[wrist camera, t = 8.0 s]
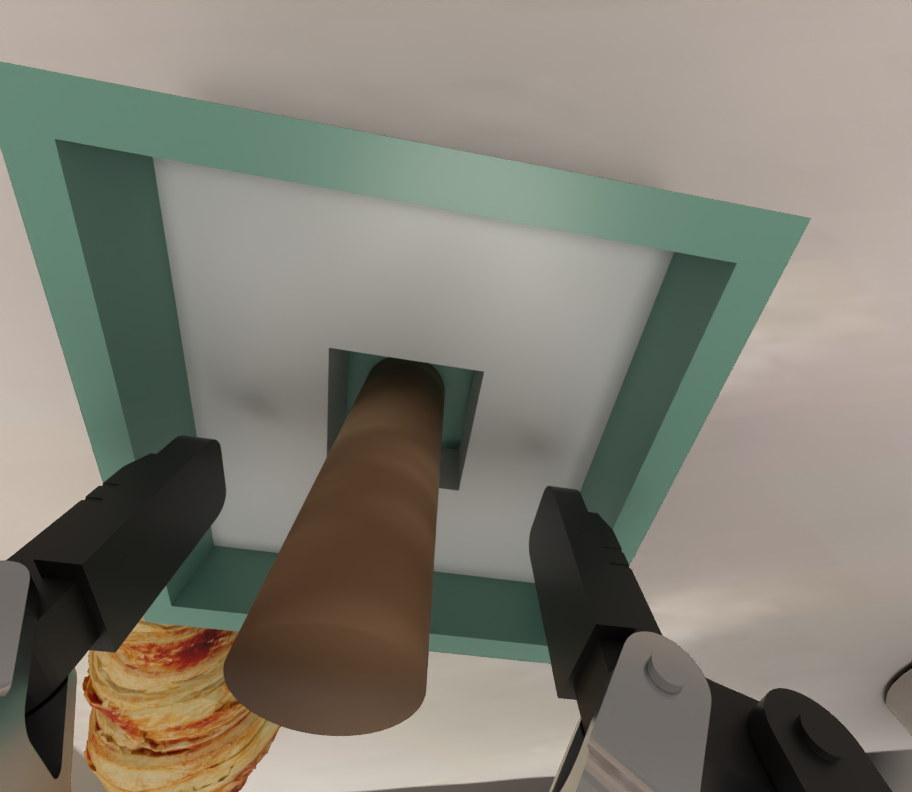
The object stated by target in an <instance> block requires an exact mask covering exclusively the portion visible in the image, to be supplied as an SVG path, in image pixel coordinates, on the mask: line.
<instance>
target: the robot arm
mask: <svg viewBox="0 0 912 792" xmlns="http://www.w3.org/2000/svg"><path fill="white" fill-rule="evenodd" d="M225 498H226V483H225V476H224V468H223V460H222V452H221V446H220V443H219V442H218V441H217V440H215V439H208V438H200V437H193V436H186V435H181V436H178V437H176V438H175V439H174V440H172V441H171V442H170V443H169V444H168V445H167V446H165V447H164V448H163V449H162V450H161V451H159V452H158V453H157V454H153V453H150V454H148V455H146V456H144V457H142V458H140V459H138V460H135V461H133V462H131V463H129V464H127V465H125V466H123V467H122V468H121V469H119V470H118V471H117V472H116V473H115V474H113V475H112V476H111V477H110V478H108V479H107V480H106V481H105V482H103V486H98V487H97V488H96V489H95V490H93V491H92V492H91V493H90V494H88V495H87V496H86V499H85V500H81V501H80V502H78V503H77V504H76V505H75V506H73V507H72V508H71V509H70V510H68V511H67V512H66V513H65V514H63V515H62V516H61V517H60V518H59V519H57V520H56V521H55V522H54V523H52V524H51V525H50V526H49V527H47V528H46V529H45V530H44V531H42V532H41V533H40V534H39V535H37V536H36V537H35V538H34V539H32V540H31V541H30V542H29V543H27V544H26V545H25V546H24V547H22V548H21V549H20V550H19V551H17V552H16V553H15V554H14V555H12V556H11V557H10V558H9V559H7V560H6V561H0V792H71V771H72V754H73V737H74V719H75V702H76V684H77V673H76V670H75V666H76V665H77V664H78V663H79V661H80V660H81V659H82V658H83V656H84V655H85V654H86V653H87V651H88V650H93V651H103V652H113V653H116V651H117V650H118V649H119V647H120V646H121V645H122V643H123V642H124V641H125V639H126V638H127V637H128V635H129V634H130V633H131V631H132V630H133V629H134V628H135V626H136V625H137V624H138V622H139V621H140V620H141V618H142V617H143V616H144V614H145V613H146V612H147V610H148V609H149V608H150V606H151V605H152V604H153V602H154V601H155V600H156V598H157V597H158V596H159V594H160V593H161V592H162V590H163V589H164V588H165V586H166V585H167V584H168V582H169V581H170V580H171V578H172V577H173V576H174V574H175V573H176V572H177V570H178V569H179V568H180V566H181V565H182V564H183V562H184V561H185V560H186V558H187V557H188V556H189V554H190V553H191V552H192V550H193V549H194V548H195V546H196V545H197V544H198V542H199V541H200V540H201V538H202V537H203V536H204V534H205V533H206V532H207V530H208V529H209V528H210V526H211V525H212V524H213V523H214V521H215V520H216V519H217V517H218V516H219V514H220V512H221V510H222V508H223V506H224V502H225ZM529 555H530V560H531V565H532V570H533V575H534V580H535V585H536V591H537V596H538V601H539V606H540V611H541V616H542V621H543V626H544V631H545V636H546V641H547V646H548V651H549V656H550V661H551V666H552V671H553V676H554V681H555V686H556V691H557V696H558V698H564V699H574V700H577V703H578V707H579V711H580V715H581V718H580V719H579V721H578V723H577V725H576V728H575V730H574V732H573V735H572V737H571V740H570V742H569V745H568V747H567V750H566V752H565V754H564V757H563V759H562V762H561V764H560V767H559V769H558V772H557V774H556V776H555V779H554V781H553V784H552V786H551V789H550V791H549V792H892V791H891V789H890V788H889V786H888V785H887V783H886V782H885V781H884V779H883V778H882V776H881V775H880V773H879V772H878V770H877V769H876V768H875V766H874V765H873V763H872V762H871V760H870V759H869V757H868V756H867V755H866V753H865V752H864V750H863V749H862V747H861V746H860V745H859V743H858V742H857V741H856V739H855V738H854V737H853V735H852V734H851V733H850V732H849V731H848V730H847V729H846V727H845V726H844V725H843V724H842V723H841V722H840V721H839V720H838V719H837V718H835V717H834V716H833V715H832V714H831V713H830V712H829V711H827V710H826V709H825V708H823V707H822V706H821V705H819V704H818V703H816V702H815V701H813V700H812V699H810V698H808V697H806V696H805V695H803V694H801V693H798V692H796V691H793V690H789V689H783V688H778V689H773V690H771V691H769V692H768V693H767V695H766V696H765V697H764V698H763V699H762V700H761V701H757V700H755V699H753V698H750V697H748V696H746V695H743V694H741V693H739V692H736V691H734V690H732V689H729V688H727V687H725V686H722V685H720V684H718V683H715V682H713V681H711V680H709V679H707V678H705V676H704V674H703V673H702V671H701V669H700V668H699V666H698V665H697V664H696V662H695V661H694V660H693V659H692V658H691V657H690V656H689V654H688V653H687V652H685V651H684V650H683V649H682V648H681V647H680V646H678V645H677V644H676V643H674V642H673V641H671V640H669V639H668V638H666V637H664V636H663V635H662V634H661V632H660V630H659V627H658V625H657V623H656V621H655V619H654V617H653V615H652V612H651V610H650V608H649V606H648V604H647V602H646V600H645V597H644V595H643V593H642V591H641V589H640V587H639V585H638V582H637V580H636V578H635V576H634V574H633V572H632V570H631V569H629V563H628V561H627V559H626V557H625V555H624V553H622V548H621V546H620V544H619V542H618V540H617V537H616V535H615V533H614V531H613V529H612V528H611V527H610V526H609V525H608V524H607V523H606V522H605V521H604V520H603V518H602V517H601V516H600V515H599V514H598V513H593V512H588V510H587V507H586V505H585V503H584V500H583V498H582V495H581V493H580V492H579V490H577V489H570V488H562V487H555V486H547V487H546V488H545V490H544V492H543V495H542V498H541V501H540V504H539V507H538V510H537V513H536V516H535V519H534V522H533V525H532V527H531V531H530V536H529ZM886 703H887V707H888V708H889V709H890V711H891V712H892V713H893V714H894V715H895V716H896V718H897V719H898V720H899V721H900V722H901V724H902V725H903V726H904V727H905V728H906V730H907V731H908V732H909V733H910V734H911V735H912V668H911V669H910V670H909V671H907V672H906V673H904V674H903V675H902V676H901V677H900V678H899V679H898V680H897V681H896V682H895V683H894V684H893V685H892V686H891V688H890V689H889V691H888V693H887V697H886Z"/></svg>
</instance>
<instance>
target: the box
mask: <svg viewBox="0 0 912 792" xmlns="http://www.w3.org/2000/svg"><path fill="white" fill-rule="evenodd" d="M0 147H1V150H2V154H3V157H4V160H5V163H6V167H7V170H8V173H9V177H10V180H11V183H12V186H13V190H14V193H15V196H16V200H17V203H18V206H19V209H20V213H21V216H22V219H23V222H24V226H25V229H26V232H27V236H28V239H29V242H30V245H31V249H32V252H33V255H34V259H35V262H36V265H37V268H38V272H39V275H40V278H41V281H42V285H43V288H44V291H45V295H46V298H47V301H48V304H49V308H50V311H51V314H52V318H53V321H54V324H55V327H56V331H57V334H58V337H59V340H60V344H61V347H62V350H63V354H64V357H65V360H66V363H67V367H68V370H69V373H70V377H71V380H72V383H73V386H74V390H75V393H76V396H77V400H78V403H79V406H80V409H81V413H82V416H83V419H84V422H85V426H86V429H87V432H88V436H89V439H90V442H91V445H92V449H93V452H94V455H95V459H96V462H97V465H98V468H99V472H100V475H101V478H102V481H103V482H105V481H106V480H107V479H108V478H110V477H111V476H112V475H113V474H115V473H116V472H117V471H118V470H119V469H121V468H122V467H123V466H125V465H127V464H129V463H131V462H133V461H135V460H138V459H140V458H142V457H144V456H146V455H148V454H150V453H153V454H157V453H158V452H159V451H161V450H162V449H163V448H164V447H165V446H167V445H168V444H169V443H170V442H171V441H172V440H174V439H175V438H176V437H178V436H181V435H186V436H193V437H200V438H208V439H215V440H217V441H218V442H219V443H220V446H221V452H222V460H223V468H224V476H225V483H226V498H225V502H224V506H223V508H222V510H221V512H220V514H219V516H218V517H217V519H216V520H215V521H214V523H213V524H212V525H211V526H210V528H209V529H208V530H207V532H206V533H205V534H204V536H203V537H202V538H201V540H200V541H199V542H198V544H197V545H196V546H195V548H194V549H193V550H192V552H191V553H190V554H189V556H188V557H187V558H186V560H185V561H184V562H183V564H182V565H181V566H180V568H179V569H178V570H177V572H176V573H175V574H174V576H173V577H172V578H171V580H170V581H169V582H168V584H167V585H166V586H165V588H164V589H163V590H162V592H161V593H160V594H159V596H158V597H157V598H156V600H155V601H154V602H153V604H152V605H151V606H150V608H149V609H148V610H147V612H146V613H145V614H144V619H145V622H151V623H160V624H170V625H180V626H189V627H199V628H209V629H219V630H228V631H238V632H239V631H240V629H241V627H242V625H243V623H244V621H245V619H246V617H247V615H248V613H249V611H250V609H251V607H252V605H253V603H254V601H255V599H256V597H257V595H258V593H259V591H260V589H261V587H262V585H263V583H264V581H265V579H266V577H267V575H268V573H269V571H270V569H271V567H272V565H273V563H274V561H275V559H276V557H277V555H278V553H279V551H280V549H281V547H282V545H283V543H284V541H285V539H286V537H287V535H288V533H289V531H290V529H291V527H292V525H293V523H294V521H295V519H296V517H297V515H298V513H299V511H300V509H301V507H302V505H303V503H304V501H305V500H306V498H307V496H308V494H309V492H310V490H311V488H312V486H313V484H314V482H315V480H316V478H317V476H318V474H319V472H320V470H321V468H322V466H323V464H324V462H325V460H326V458H327V456H328V454H329V452H330V450H331V448H332V446H333V444H334V442H335V440H336V438H337V436H338V434H339V432H340V430H341V428H342V426H343V424H344V422H345V420H346V418H347V416H348V414H349V412H350V410H351V408H352V406H353V404H354V402H355V400H356V398H357V396H358V394H359V392H360V390H361V388H362V386H363V384H364V382H365V380H366V378H367V376H368V374H369V372H370V371H371V369H372V368H373V367H374V366H375V365H376V364H377V363H378V362H380V361H381V360H383V359H385V358H387V357H392V358H399V359H405V360H412V361H418V362H425V363H430V364H431V365H432V366H433V367H434V368H435V369H436V370H437V371H438V373H439V374H440V376H441V378H442V380H443V383H444V388H445V399H444V415H443V430H442V446H441V462H440V478H439V494H438V509H437V525H436V541H435V557H434V573H433V588H432V604H431V620H430V636H429V651H432V652H442V653H452V654H461V655H471V656H481V657H490V658H500V659H510V660H520V661H529V662H539V663H549V664H551V661H550V656H549V651H548V646H547V641H546V636H545V631H544V626H543V621H542V616H541V611H540V606H539V601H538V596H537V591H536V585H535V580H534V575H533V570H532V565H531V560H530V555H529V536H530V531H531V527H532V525H533V522H534V519H535V516H536V513H537V510H538V507H539V504H540V501H541V498H542V495H543V492H544V490H545V488H546V487H547V486H555V487H562V488H570V489H577V490H579V492H580V493H581V495H582V498H583V500H584V503H585V505H586V507H587V510H588V512H593V513H598V514H599V515H600V516H601V517H602V518H603V520H604V521H605V522H606V523H607V524H608V525H609V526H610V527H611V528H612V529H613V531H614V533H615V535H616V537H617V540H618V542H619V544H620V546H621V548H622V553H624V555H625V557H626V559H627V561H628V563H629V565H630V563H631V562H632V560H633V558H634V556H635V554H636V552H637V550H638V548H639V546H640V544H641V542H642V540H643V539H644V537H645V535H646V533H647V531H648V529H649V527H650V525H651V523H652V521H653V519H654V518H655V516H656V514H657V512H658V510H659V508H660V506H661V504H662V502H663V500H664V498H665V496H666V495H667V493H668V491H669V489H670V487H671V485H672V483H673V481H674V479H675V477H676V475H677V474H678V472H679V470H680V468H681V466H682V464H683V462H684V460H685V458H686V456H687V454H688V453H689V451H690V449H691V447H692V445H693V443H694V441H695V439H696V437H697V435H698V433H699V431H700V430H701V428H702V426H703V424H704V422H705V420H706V418H707V416H708V414H709V412H710V410H711V409H712V407H713V405H714V403H715V401H716V399H717V397H718V395H719V393H720V391H721V389H722V387H723V386H724V384H725V382H726V380H727V378H728V376H729V374H730V372H731V370H732V368H733V366H734V365H735V363H736V361H737V359H738V357H739V355H740V353H741V351H742V349H743V347H744V345H745V344H746V342H747V340H748V338H749V336H750V334H751V332H752V330H753V328H754V326H755V324H756V322H757V321H758V319H759V317H760V315H761V313H762V311H763V309H764V307H765V305H766V303H767V301H768V300H769V298H770V296H771V294H772V292H773V290H774V288H775V286H776V284H777V282H778V280H779V279H780V277H781V275H782V273H783V271H784V269H785V267H786V265H787V263H788V261H789V259H790V257H791V256H792V254H793V252H794V250H795V248H796V246H797V244H798V242H799V240H800V238H801V236H802V235H803V233H804V231H805V229H806V227H807V225H808V223H809V221H810V219H811V218H807V217H802V216H796V215H791V214H786V213H781V212H776V211H771V210H765V209H760V208H755V207H750V206H745V205H739V204H734V203H729V202H724V201H719V200H714V199H708V198H703V197H698V196H693V195H688V194H683V193H677V192H672V191H667V190H662V189H657V188H652V187H646V186H641V185H636V184H631V183H626V182H620V181H615V180H610V179H605V178H600V177H595V176H589V175H584V174H579V173H574V172H569V171H564V170H558V169H553V168H548V167H543V166H538V165H533V164H527V163H522V162H517V161H512V160H507V159H501V158H496V157H491V156H486V155H481V154H476V153H470V152H465V151H460V150H455V149H450V148H445V147H439V146H434V145H429V144H424V143H419V142H414V141H408V140H403V139H398V138H393V137H388V136H383V135H377V134H372V133H367V132H362V131H357V130H351V129H346V128H341V127H336V126H331V125H326V124H320V123H315V122H310V121H305V120H300V119H295V118H289V117H284V116H279V115H274V114H269V113H264V112H258V111H253V110H248V109H243V108H238V107H232V106H227V105H222V104H217V103H212V102H207V101H201V100H196V99H191V98H186V97H181V96H176V95H170V94H165V93H160V92H155V91H150V90H145V89H139V88H134V87H129V86H124V85H119V84H113V83H108V82H103V81H98V80H93V79H88V78H82V77H77V76H72V75H67V74H62V73H57V72H51V71H46V70H41V69H36V68H31V67H26V66H20V65H15V64H10V63H5V62H0Z"/></svg>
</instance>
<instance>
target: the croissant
mask: <svg viewBox="0 0 912 792" xmlns="http://www.w3.org/2000/svg"><path fill="white" fill-rule="evenodd" d="M238 633H239V632H238V631H228V630H219V629H209V628H199V627H189V626H180V625H170V624H160V623H151V622H145V619H144V616H143V617H142V618H141V620H140V621H139V622H138V624H137V625H136V626H135V628H134V629H133V630H132V631H131V633H130V634H129V635H128V637H127V638H126V639H125V641H124V642H123V643H122V645H121V646H120V647H119V649H118V650H117V651H116V653H113V652H103V651H93V650H90V652H89V655H88V658H89V660H88V662H89V669H88V671H87V672H88V673H89V675H88V677H85V678H84V682H83V690H84V692H85V693H84V696H85V698H86V699H87V701H88V703H89V704H90V706H92V711H91V714H90V720H89V733H88V740H87V745H86V750H85V751H84V755H85V758H86V761H87V763H88V765H89V767H90V769H91V770H92V772H93V773H94V774H95V775H96V776H97V777H98V778H99V779H100V781H101V783H102V784H103V786H104V787H105V789H106V791H107V792H238V791H240V790H241V789H242V787H243V786H244V785H245V783H246V780H247V778H248V776H249V775H250V773H251V772H252V771H253V769H256V765H257V764H258V763H259V762H260V760H261V759H262V758H263V757H264V755H266V754H267V753H268V750H269V748H270V746H271V743H272V742H273V740H274V739H275V736H276V734H277V732H278V730H279V728H280V727H281V726H279V725H277V724H274V723H272V722H269V721H267V720H265V719H263V718H261V717H259V716H258V715H256V714H254V713H253V712H251V711H250V710H248V709H247V708H246V707H244V706H243V705H242V704H241V703H240V702H239V701H238V700H237V699H236V698H235V697H234V696H233V695H232V693H231V692H230V691H229V689H228V687H227V685H226V683H225V679H224V675H223V667H224V661H225V659H226V657H227V655H228V653H229V651H230V649H231V647H232V645H233V643H234V641H235V639H236V637H237V635H238Z"/></svg>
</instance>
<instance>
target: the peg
mask: <svg viewBox="0 0 912 792" xmlns="http://www.w3.org/2000/svg"><path fill="white" fill-rule="evenodd" d="M444 399H445V388H444V383H443V380H442V378H441V376H440V374H439V373H438V371H437V370H436V369H435V368H434V367H433V366H432V365H431V364H430V363H425V362H418V361H412V360H405V359H399V358H392V357H387V358H385V359H383V360H381V361H380V362H378V363H377V364H376V365H375V366H374V367H373V368H372V369H371V371H370V372H369V374H368V376H367V378H366V380H365V382H364V384H363V386H362V388H361V390H360V392H359V394H358V396H357V398H356V400H355V402H354V404H353V406H352V408H351V410H350V412H349V414H348V416H347V418H346V420H345V422H344V424H343V426H342V428H341V430H340V432H339V434H338V436H337V438H336V440H335V442H334V444H333V446H332V448H331V450H330V452H329V454H328V456H327V458H326V460H325V462H324V464H323V466H322V468H321V470H320V472H319V474H318V476H317V478H316V480H315V482H314V484H313V486H312V488H311V490H310V492H309V494H308V496H307V498H306V500H305V501H304V503H303V505H302V507H301V509H300V511H299V513H298V515H297V517H296V519H295V521H294V523H293V525H292V527H291V529H290V531H289V533H288V535H287V537H286V539H285V541H284V543H283V545H282V547H281V549H280V551H279V553H278V555H277V557H276V559H275V561H274V563H273V565H272V567H271V569H270V571H269V573H268V575H267V577H266V579H265V581H264V583H263V585H262V587H261V589H260V591H259V593H258V595H257V597H256V599H255V601H254V603H253V605H252V607H251V609H250V611H249V613H248V615H247V617H246V619H245V621H244V623H243V625H242V627H241V629H240V631H239V633H238V635H237V637H236V639H235V641H234V643H233V645H232V647H231V649H230V651H229V653H228V655H227V657H226V659H225V661H224V667H223V675H224V679H225V683H226V685H227V687H228V689H229V691H230V692H231V693H232V695H233V696H234V697H235V698H236V699H237V700H238V701H239V702H240V703H241V704H242V705H243V706H244V707H246V708H247V709H248V710H250V711H251V712H253V713H254V714H256V715H258V716H259V717H261V718H263V719H265V720H267V721H269V722H272V723H274V724H277V725H279V726H282V727H286V728H289V729H292V730H296V731H300V732H305V733H311V734H318V735H329V736H351V735H362V734H368V733H373V732H377V731H382V730H385V729H388V728H391V727H393V726H395V725H397V724H400V723H401V722H403V721H405V720H406V719H408V718H409V717H410V716H412V715H413V714H414V713H415V712H416V711H417V710H418V709H419V707H420V706H421V704H422V702H423V700H424V697H425V694H426V683H427V667H428V652H429V636H430V620H431V604H432V588H433V573H434V557H435V541H436V525H437V509H438V494H439V478H440V462H441V446H442V430H443V415H444Z"/></svg>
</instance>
